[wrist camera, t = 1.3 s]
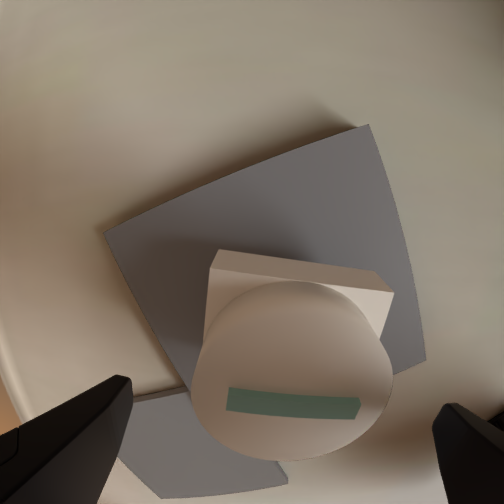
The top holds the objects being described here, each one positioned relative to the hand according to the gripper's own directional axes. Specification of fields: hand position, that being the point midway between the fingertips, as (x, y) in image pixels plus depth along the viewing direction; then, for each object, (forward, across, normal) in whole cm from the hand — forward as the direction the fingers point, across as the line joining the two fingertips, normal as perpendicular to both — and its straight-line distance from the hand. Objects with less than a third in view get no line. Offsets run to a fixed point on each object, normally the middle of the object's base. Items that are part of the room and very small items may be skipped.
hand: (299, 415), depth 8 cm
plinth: (+8, 0, 0) cm, 8 cm away
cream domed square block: (+4, 0, 0) cm, 5 cm away
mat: (+8, +4, +13) cm, 16 cm away
